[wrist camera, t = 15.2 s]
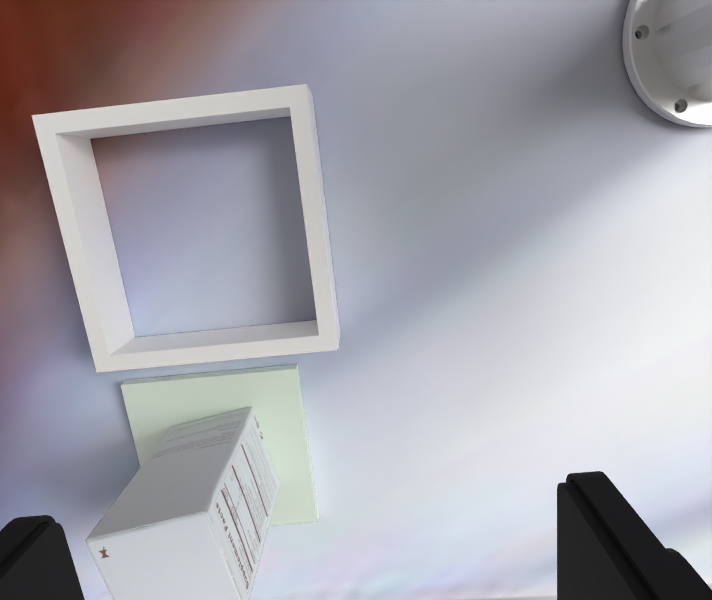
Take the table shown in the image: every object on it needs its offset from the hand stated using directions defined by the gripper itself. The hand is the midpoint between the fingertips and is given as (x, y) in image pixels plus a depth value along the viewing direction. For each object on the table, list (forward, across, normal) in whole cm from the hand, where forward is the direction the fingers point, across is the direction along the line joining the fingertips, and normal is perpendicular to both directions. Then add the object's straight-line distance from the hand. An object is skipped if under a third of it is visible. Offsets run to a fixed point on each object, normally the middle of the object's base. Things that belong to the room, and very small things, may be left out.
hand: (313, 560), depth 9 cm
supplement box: (+27, +12, +14) cm, 33 cm away
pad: (+28, +12, +14) cm, 34 cm away
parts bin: (+28, +10, -4) cm, 30 cm away
